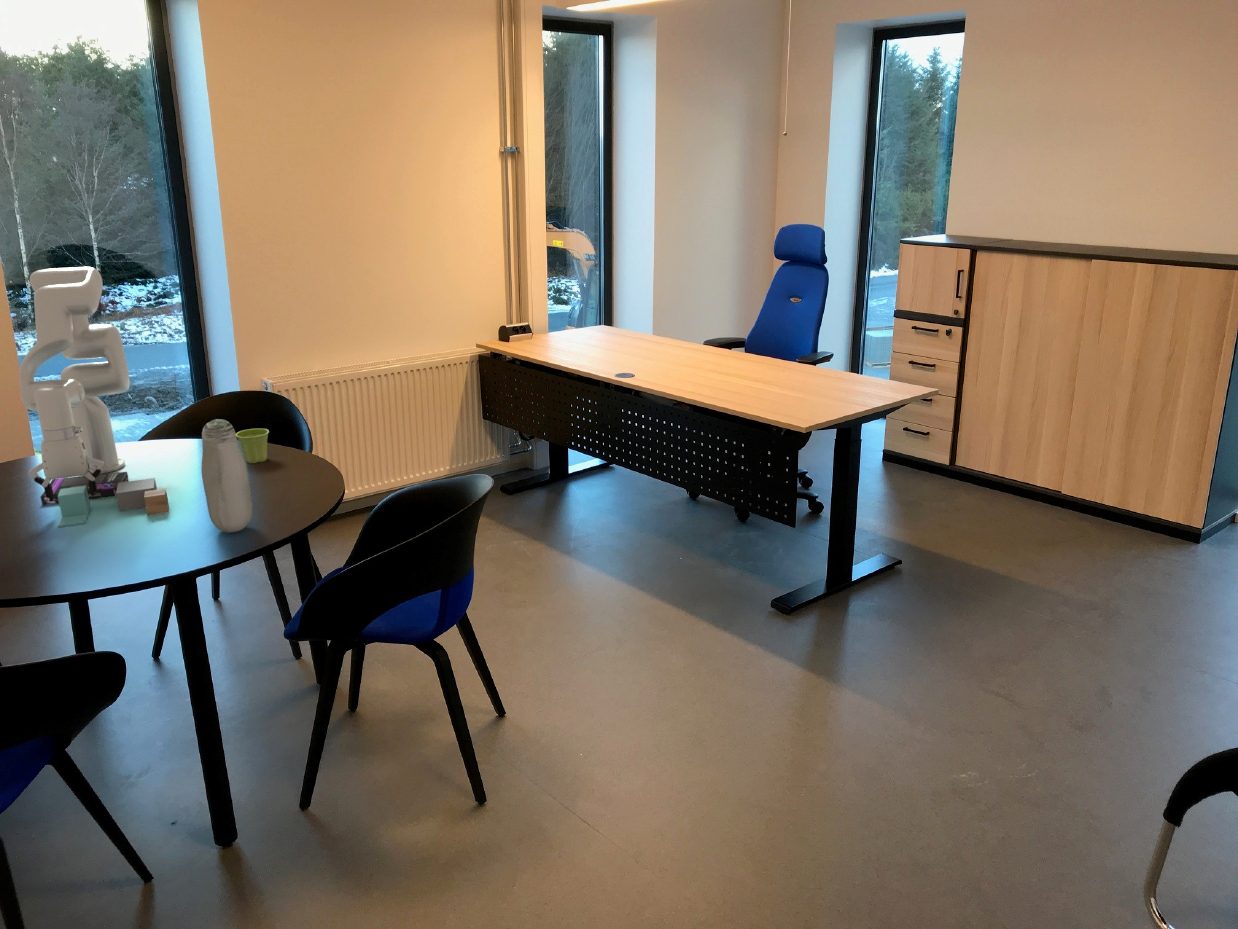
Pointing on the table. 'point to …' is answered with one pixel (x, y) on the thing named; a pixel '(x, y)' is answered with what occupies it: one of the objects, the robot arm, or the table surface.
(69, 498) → the teal cube
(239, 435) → the plant pot
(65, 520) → the tile
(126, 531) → the table surface
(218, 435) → the white bottle
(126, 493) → the grey square block
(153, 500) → the walnut cube
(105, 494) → the box
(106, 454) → the robot arm
